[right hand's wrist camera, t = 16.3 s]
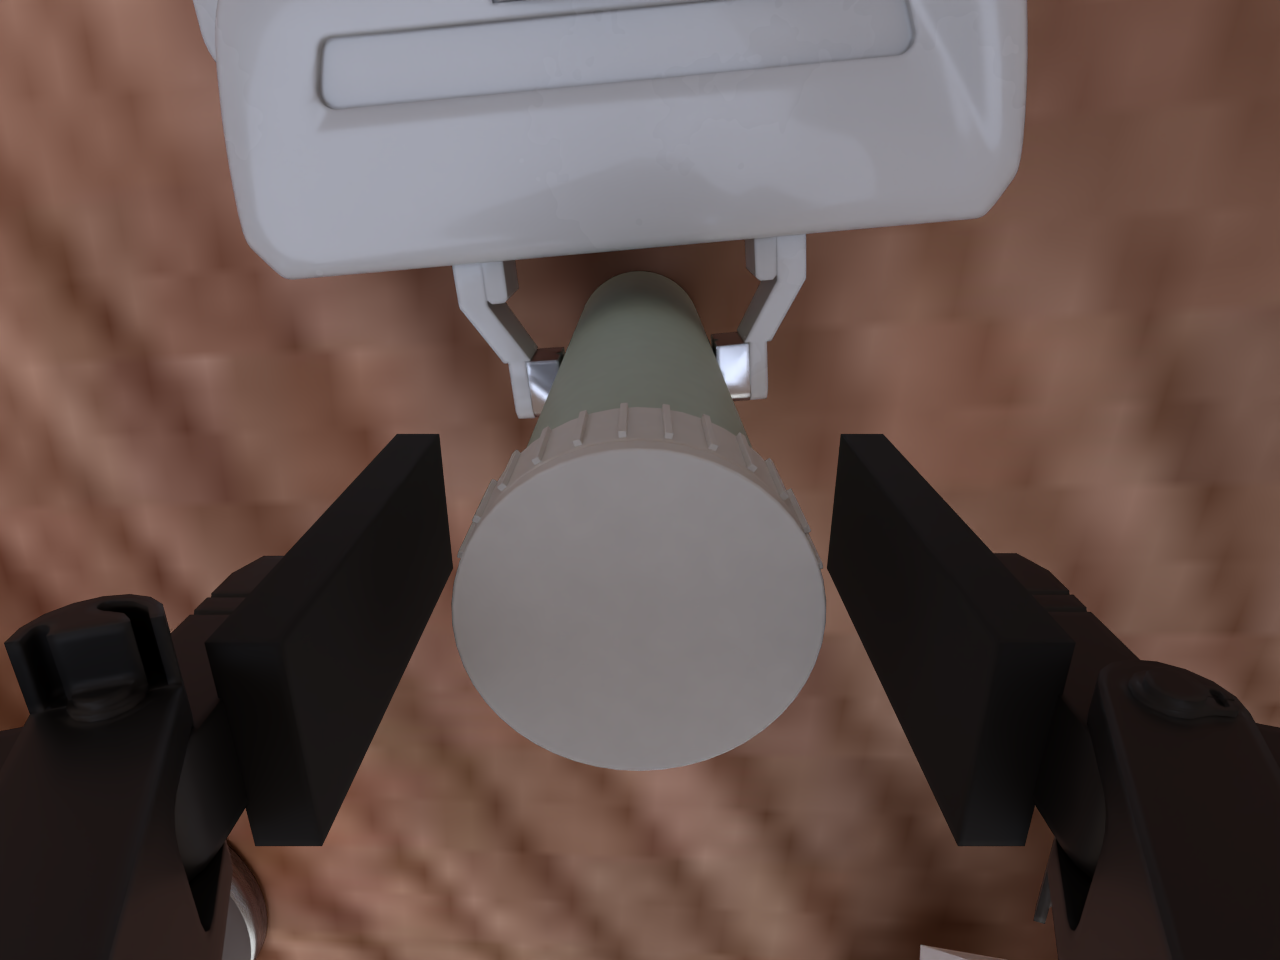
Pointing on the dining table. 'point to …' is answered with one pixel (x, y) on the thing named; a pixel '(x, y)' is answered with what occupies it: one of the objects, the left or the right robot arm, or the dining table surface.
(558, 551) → the lid
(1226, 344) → the dining table surface
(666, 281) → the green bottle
